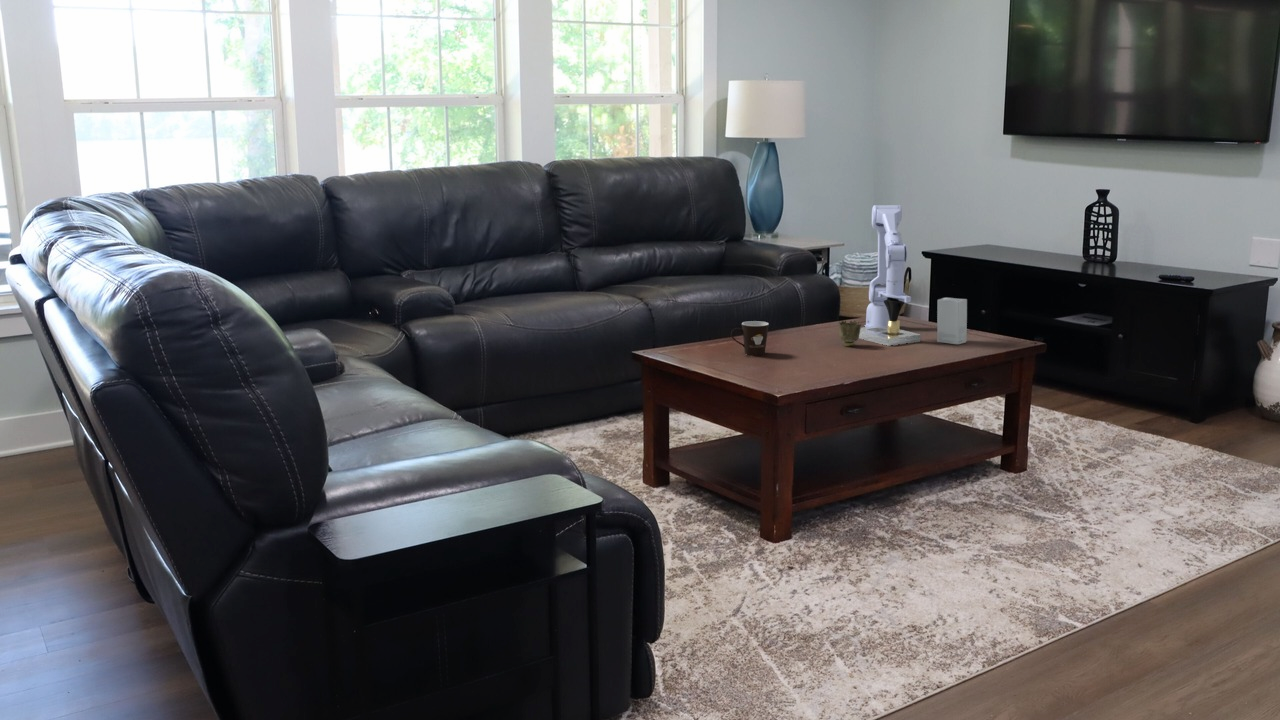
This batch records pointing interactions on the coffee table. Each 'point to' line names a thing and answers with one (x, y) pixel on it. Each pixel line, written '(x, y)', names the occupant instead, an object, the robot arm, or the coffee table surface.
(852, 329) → the cup
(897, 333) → the brass sleeve
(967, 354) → the coffee table surface
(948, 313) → the skincare box
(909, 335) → the jig plate
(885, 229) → the robot arm
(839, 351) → the coffee table surface
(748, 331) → the coffee mug
